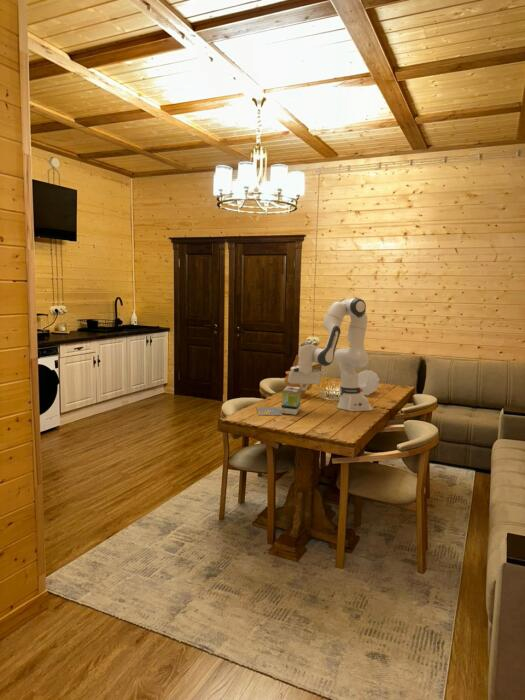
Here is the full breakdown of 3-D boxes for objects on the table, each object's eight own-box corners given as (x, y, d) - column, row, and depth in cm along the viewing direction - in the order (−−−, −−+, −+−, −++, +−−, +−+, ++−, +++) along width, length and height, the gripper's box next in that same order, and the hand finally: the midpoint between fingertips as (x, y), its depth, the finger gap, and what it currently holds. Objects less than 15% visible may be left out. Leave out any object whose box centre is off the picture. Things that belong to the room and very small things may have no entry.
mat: (279, 407, 310) (279, 407, 310) (282, 415, 290) (282, 415, 290) (256, 407, 309) (256, 407, 309) (258, 415, 289) (258, 415, 289)
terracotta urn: (317, 398, 340) (319, 356, 337) (288, 399, 335) (290, 357, 332) (307, 392, 361) (308, 353, 357) (280, 393, 356) (281, 353, 352)
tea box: (296, 415, 292) (298, 391, 290) (280, 413, 294) (282, 389, 292) (300, 409, 307) (301, 387, 305) (284, 408, 309) (286, 385, 307)
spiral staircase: (373, 396, 373) (368, 401, 350) (353, 384, 378) (347, 388, 355) (385, 376, 369) (380, 379, 346) (364, 364, 374) (359, 367, 351)
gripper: (320, 368, 302) (319, 389, 303) (288, 367, 300) (287, 389, 302) (322, 369, 296) (321, 391, 297) (289, 369, 294) (288, 391, 296)
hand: (304, 390), depth 299 cm, fingers closed
